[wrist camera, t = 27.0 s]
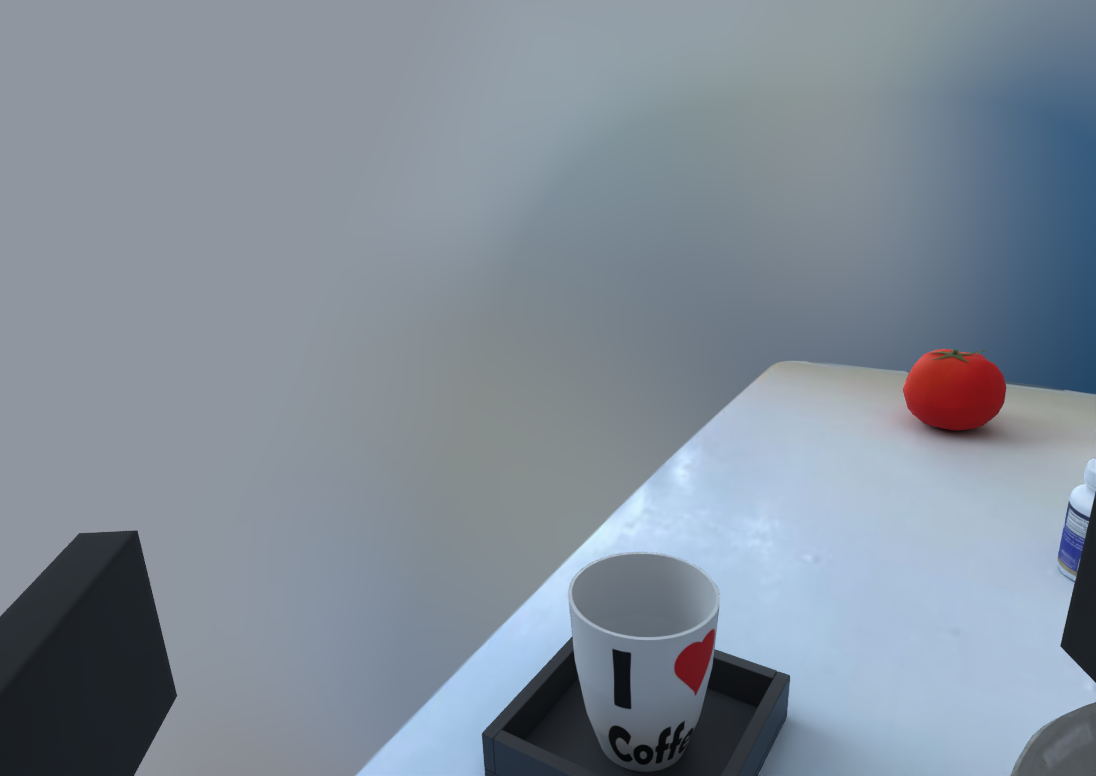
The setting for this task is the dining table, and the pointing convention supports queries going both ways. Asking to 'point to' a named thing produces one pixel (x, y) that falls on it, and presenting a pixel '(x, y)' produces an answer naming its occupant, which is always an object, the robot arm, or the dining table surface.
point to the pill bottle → (1077, 523)
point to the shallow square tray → (574, 750)
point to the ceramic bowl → (1062, 747)
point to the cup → (643, 653)
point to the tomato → (954, 389)
